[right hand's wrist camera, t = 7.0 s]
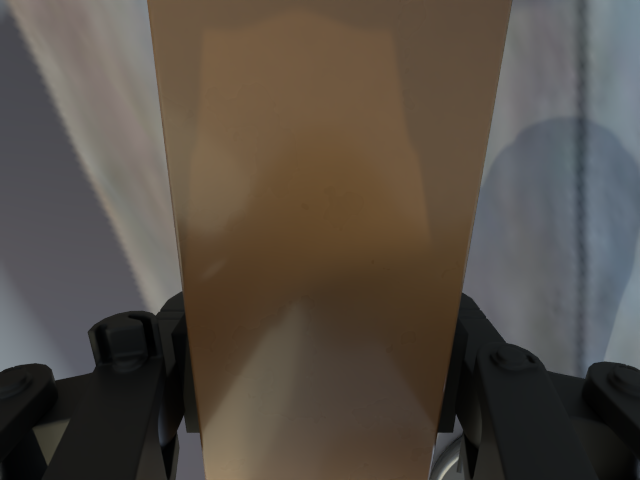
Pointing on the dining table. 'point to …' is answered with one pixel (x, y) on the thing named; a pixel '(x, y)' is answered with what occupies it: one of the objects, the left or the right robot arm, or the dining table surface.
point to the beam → (324, 220)
